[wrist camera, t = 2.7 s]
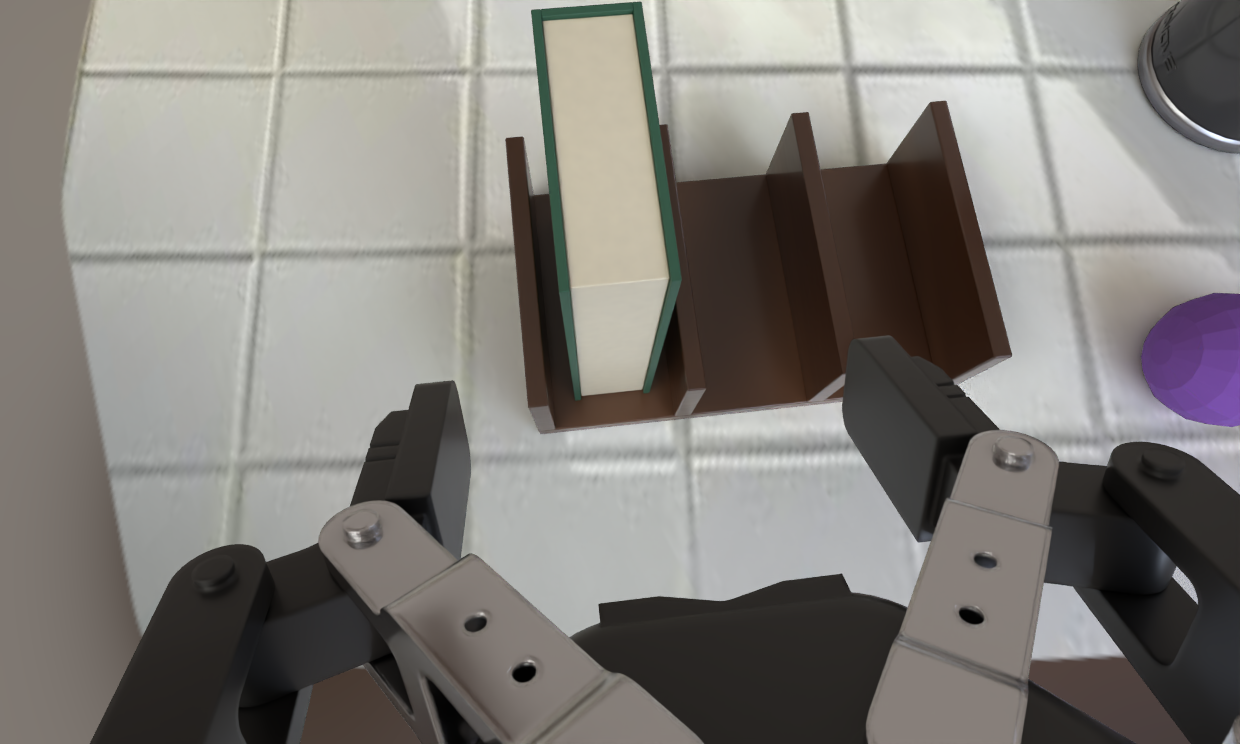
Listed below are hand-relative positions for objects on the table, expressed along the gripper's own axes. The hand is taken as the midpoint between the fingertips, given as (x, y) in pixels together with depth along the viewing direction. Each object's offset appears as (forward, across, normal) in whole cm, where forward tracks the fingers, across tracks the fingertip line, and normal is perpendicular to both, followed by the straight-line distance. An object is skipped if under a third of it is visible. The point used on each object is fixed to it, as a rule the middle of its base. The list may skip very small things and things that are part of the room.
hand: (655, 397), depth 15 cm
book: (+20, 0, +7) cm, 21 cm away
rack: (+20, -6, +8) cm, 23 cm away
